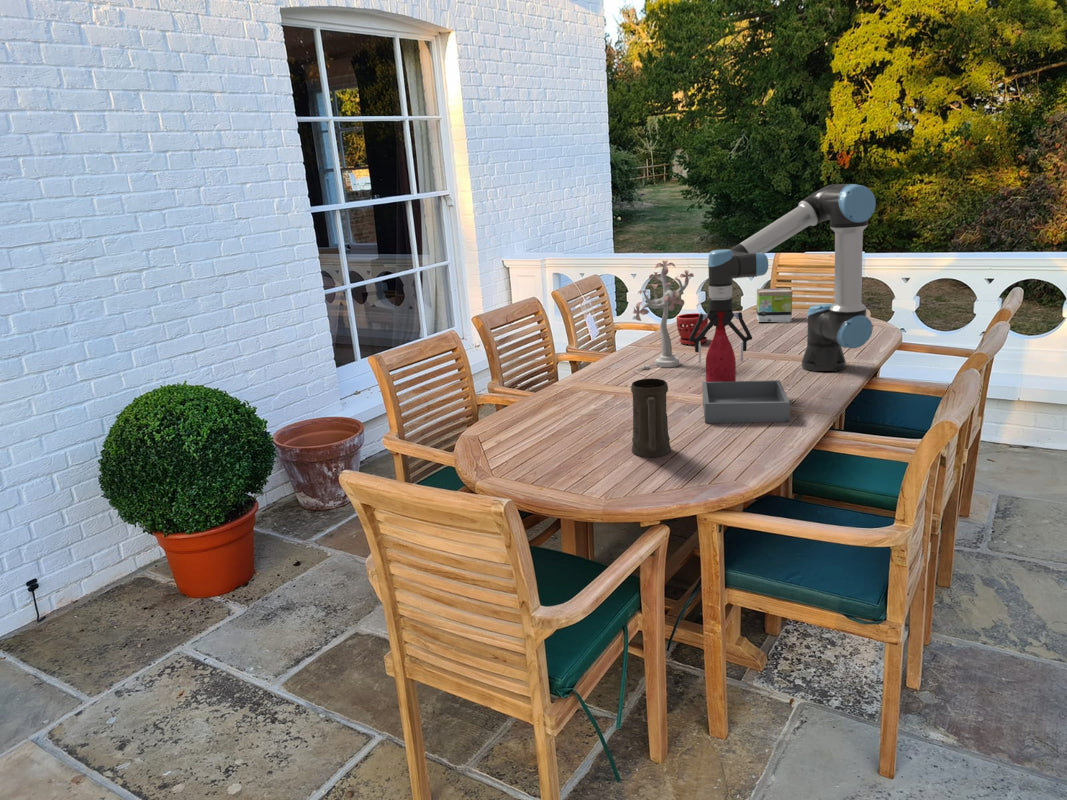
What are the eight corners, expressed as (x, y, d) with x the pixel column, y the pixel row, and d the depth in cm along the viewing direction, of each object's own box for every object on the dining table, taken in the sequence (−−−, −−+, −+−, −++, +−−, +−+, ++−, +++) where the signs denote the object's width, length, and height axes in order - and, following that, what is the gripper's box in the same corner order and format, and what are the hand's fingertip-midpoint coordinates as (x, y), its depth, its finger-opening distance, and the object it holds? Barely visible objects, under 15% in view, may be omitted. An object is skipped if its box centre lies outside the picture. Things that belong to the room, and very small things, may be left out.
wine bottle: (737, 388, 273) (737, 301, 265) (734, 397, 265) (734, 307, 256) (707, 388, 277) (707, 302, 268) (704, 396, 268) (703, 307, 259)
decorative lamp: (648, 378, 295) (644, 268, 283) (616, 365, 315) (612, 263, 304) (710, 365, 305) (709, 260, 294) (675, 354, 326) (673, 255, 314)
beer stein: (627, 445, 228) (625, 378, 221) (664, 441, 228) (664, 375, 221) (639, 467, 213) (637, 397, 206) (678, 463, 214) (678, 393, 207)
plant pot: (712, 340, 346) (712, 312, 342) (701, 347, 335) (701, 318, 332) (684, 338, 352) (683, 311, 349) (672, 345, 342) (671, 317, 339)
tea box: (758, 323, 371) (758, 292, 367) (756, 319, 381) (756, 288, 376) (792, 322, 368) (792, 290, 364) (789, 318, 378) (789, 287, 374)
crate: (779, 398, 260) (779, 380, 258) (789, 421, 237) (789, 402, 235) (702, 399, 264) (702, 381, 263) (705, 422, 242) (704, 403, 240)
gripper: (681, 301, 260) (682, 364, 266) (761, 298, 256) (760, 363, 262) (681, 297, 267) (682, 359, 273) (758, 294, 263) (758, 357, 269)
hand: (720, 361), depth 268 cm, fingers open, 13 cm apart
